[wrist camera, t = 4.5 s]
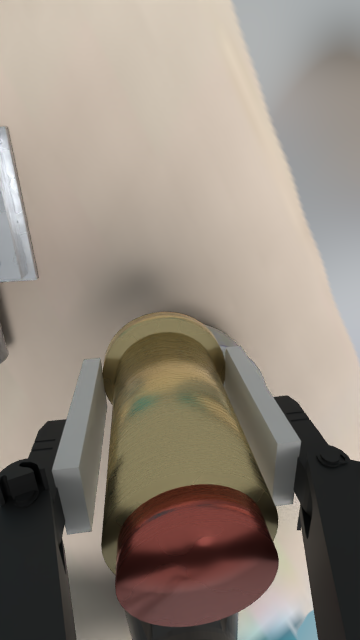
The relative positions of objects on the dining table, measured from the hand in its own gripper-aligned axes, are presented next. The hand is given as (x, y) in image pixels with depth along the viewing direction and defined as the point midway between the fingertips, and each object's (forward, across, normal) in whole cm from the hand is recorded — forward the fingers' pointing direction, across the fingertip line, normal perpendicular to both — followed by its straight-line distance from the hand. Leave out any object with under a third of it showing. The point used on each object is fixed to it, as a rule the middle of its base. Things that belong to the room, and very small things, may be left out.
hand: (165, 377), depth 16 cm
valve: (+1, 0, 0) cm, 1 cm away
